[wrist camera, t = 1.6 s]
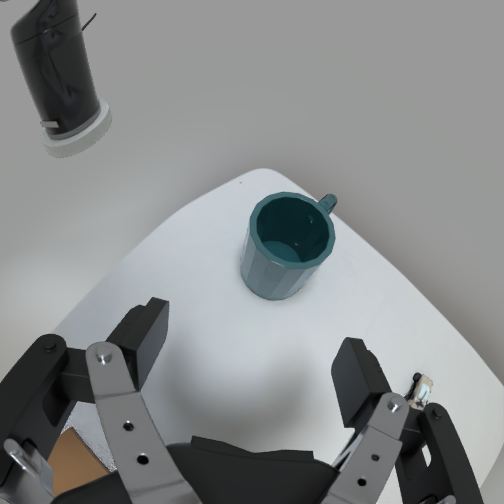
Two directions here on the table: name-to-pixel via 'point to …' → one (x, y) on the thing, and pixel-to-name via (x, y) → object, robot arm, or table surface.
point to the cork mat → (73, 463)
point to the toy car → (419, 392)
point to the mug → (286, 243)
